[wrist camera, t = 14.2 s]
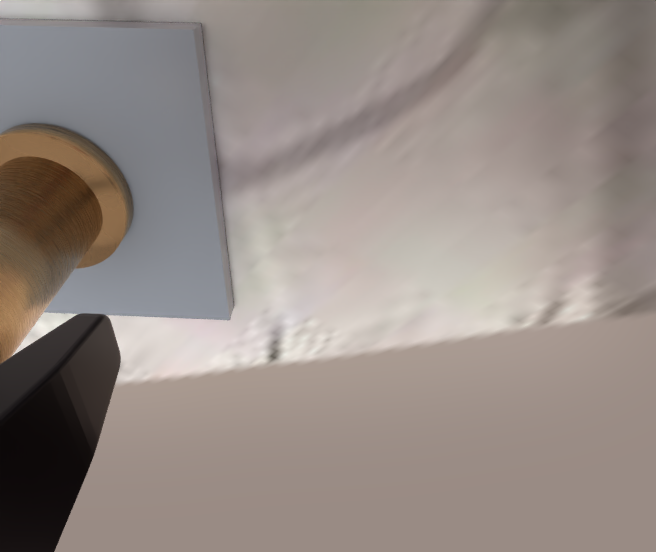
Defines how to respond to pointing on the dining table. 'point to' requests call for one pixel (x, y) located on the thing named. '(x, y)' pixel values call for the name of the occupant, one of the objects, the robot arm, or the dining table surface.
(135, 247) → the slate pad
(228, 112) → the dining table surface
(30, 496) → the robot arm
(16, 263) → the disc
